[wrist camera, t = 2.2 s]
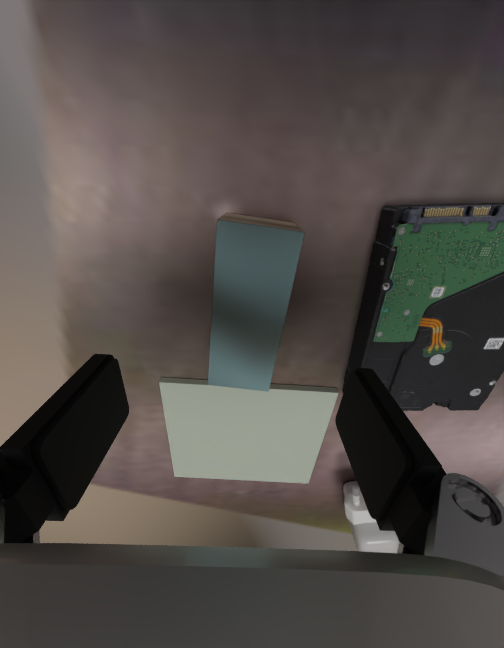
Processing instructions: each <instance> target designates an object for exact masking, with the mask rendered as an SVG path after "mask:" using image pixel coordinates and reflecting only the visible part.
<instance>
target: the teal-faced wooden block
mask: <svg viewBox="0 0 504 648" xmlns="http://www.w3.org/2000/svg"><path fill="white" fill-rule="evenodd" d="M304 234H305V232H303V231H302V230H301V229H300V228H299V227H298V226H297V225H296V224H295V223H293V222H287V221H280V220H274V219H267V218H260V217H253V216H246V215H239V214H232V213H226V214H224V215H223V216H222V217H220V218H219V219H218V220H217V232H216V250H215V268H214V285H213V303H212V321H211V339H210V357H209V374H208V385H213V386H222V387H231V388H240V389H249V390H258V391H267V392H269V388H270V383H271V379H272V374H273V370H274V366H275V361H276V357H277V352H278V348H279V344H280V339H281V335H282V330H283V326H284V322H285V317H286V313H287V308H288V304H289V300H290V295H291V291H292V286H293V282H294V278H295V273H296V269H297V264H298V260H299V256H300V251H301V247H302V242H303V238H304Z"/></svg>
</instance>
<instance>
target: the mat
mask: <svg viewBox="0 0 504 648" xmlns="http://www.w3.org/2000/svg"><path fill="white" fill-rule="evenodd" d="M159 384H160V390H161V396H162V402H163V408H164V414H165V421H166V427H167V433H168V439H169V445H170V451H171V457H172V463H173V469H174V475H175V477H193V478H212V479H231V480H251V481H270V482H289V483H309V480H310V477H311V474H312V471H313V468H314V465H315V462H316V459H317V456H318V453H319V450H320V447H321V444H322V441H323V438H324V435H325V432H326V429H327V426H328V423H329V420H330V417H331V414H332V411H333V408H334V405H335V402H336V399H337V396H338V390H337V388H332V387H315V386H298V385H282V384H270V388H269V392H267V391H258V390H249V389H240V388H231V387H222V386H213V385H208V380H198V379H182V378H165V377H162V378H161V380H160V382H159Z"/></svg>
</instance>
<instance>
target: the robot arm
mask: <svg viewBox="0 0 504 648" xmlns="http://www.w3.org/2000/svg"><path fill="white" fill-rule="evenodd" d="M128 414H129V405H128V401H127V397H126V393H125V388H124V384H123V380H122V376H121V371H120V367H119V363H118V360H117V359H114V357H113V356H112V355H107V354H94V355H93V356H92V357H91V358H90V359H89V360H88V361H87V362H86V363H85V364H84V365H83V366H82V367H81V368H80V369H79V370H78V371H77V372H76V373H75V374H74V375H73V376H72V377H71V378H70V379H69V380H68V381H67V382H66V383H64V384H63V386H61V387H60V389H59V390H57V391H56V392H55V393H54V395H52V396H51V398H49V399H48V400H47V401H46V402H45V403H44V404H43V405H42V406H41V407H40V408H39V409H38V410H37V411H36V412H35V413H34V414H33V415H32V416H31V417H30V418H29V419H28V420H27V421H26V422H25V423H24V424H23V425H22V426H21V427H20V428H19V429H18V430H17V431H16V432H15V433H14V434H13V435H12V436H11V437H10V438H9V439H8V440H7V441H6V442H5V443H4V444H3V445H2V446H1V447H0V648H504V507H503V505H502V504H501V502H500V501H499V500H498V499H497V498H496V497H495V496H494V495H493V494H492V493H491V492H490V491H489V490H488V489H486V488H485V487H484V486H483V485H481V484H480V483H478V482H477V481H475V480H473V479H471V478H469V477H467V476H465V475H461V474H457V473H450V474H446V473H445V471H444V470H443V468H442V465H441V464H440V463H439V461H438V460H437V458H436V457H435V456H434V454H433V453H432V451H431V450H430V448H429V447H428V446H427V444H426V443H425V441H424V440H423V439H422V437H421V436H420V434H419V433H418V432H417V430H416V429H415V427H414V426H413V425H412V423H411V422H410V420H409V419H408V418H407V416H406V415H405V413H404V412H403V411H402V409H401V408H400V406H399V405H398V404H397V402H396V401H395V399H394V398H393V397H392V395H391V394H390V392H389V391H388V390H387V388H386V387H385V385H384V384H383V383H382V381H381V380H380V378H379V377H378V376H377V374H376V373H375V371H374V370H373V369H371V368H356V369H355V370H354V371H351V373H350V375H349V378H348V381H347V384H346V388H345V391H344V394H343V397H342V400H341V403H340V406H339V409H338V412H337V415H336V426H337V429H338V432H339V434H340V437H341V440H342V442H343V445H344V448H345V450H346V453H347V456H348V459H349V461H350V464H351V467H352V469H353V472H354V475H355V477H356V480H357V483H358V485H359V488H360V491H361V493H362V496H363V499H364V501H365V504H366V507H367V509H368V512H369V514H370V516H371V518H373V519H376V522H377V524H378V527H379V530H380V531H395V533H396V535H397V537H398V540H399V542H400V543H399V548H398V552H397V553H382V552H363V551H334V550H306V549H305V550H304V549H276V548H241V547H204V546H167V545H122V544H121V545H120V544H77V543H76V544H75V543H74V544H73V543H40V536H39V530H40V528H41V526H42V525H43V524H44V522H45V520H47V521H64V519H65V517H66V515H67V514H68V512H69V511H70V510H71V509H73V508H75V507H76V506H77V504H78V503H79V501H80V499H81V497H82V496H83V494H84V492H85V490H86V489H87V487H88V485H89V483H90V482H91V480H92V478H93V476H94V475H95V473H96V471H97V469H98V468H99V466H100V464H101V462H102V461H103V459H104V457H105V455H106V454H107V452H108V450H109V448H110V447H111V445H112V443H113V441H114V439H115V438H116V436H117V434H118V432H119V431H120V429H121V427H122V425H123V424H124V422H125V420H126V418H127V416H128Z"/></svg>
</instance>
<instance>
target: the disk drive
mask: <svg viewBox="0 0 504 648" xmlns="http://www.w3.org/2000/svg"><path fill="white" fill-rule="evenodd" d="M356 368H371V369H373V370H374V371H375V373H376V374H377V376H378V377H379V378H380V380H381V381H382V383H383V384H384V385H385V387H386V388H387V390H388V391H389V392H390V394H391V395H392V397H393V398H394V399H395V401H396V402H397V404H398V405H399V406H400V408H401V409H402V411H408V410H411V411H422V410H424V409H426V408H427V407H430V406H431V405H432V403H435V404H436V405H438V406H442V407H447V408H448V409H449V410H479V408H480V406H481V405H482V403H484V401H485V400H486V399H487V398H488V396H489V394H490V393H491V391H492V389H493V388H494V386H495V384H494V383H495V382H497V381H498V379H499V378H500V376H501V374H502V373H503V372H504V203H483V204H441V205H401V206H385V207H384V208H383V209H382V212H381V217H380V221H379V226H378V230H377V234H376V240H375V242H374V244H373V249H372V253H371V258H370V266H369V271H368V276H367V280H366V285H365V289H364V295H363V298H362V303H361V308H360V312H359V317H358V321H357V326H356V330H355V335H354V340H353V345H352V349H351V354H350V358H349V363H348V367H347V369H346V373H345V378H344V386H343V390H342V391H343V393H344V391H345V388H346V384H347V381H348V378H349V375H350V373H351V371H354V370H355V369H356Z"/></svg>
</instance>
